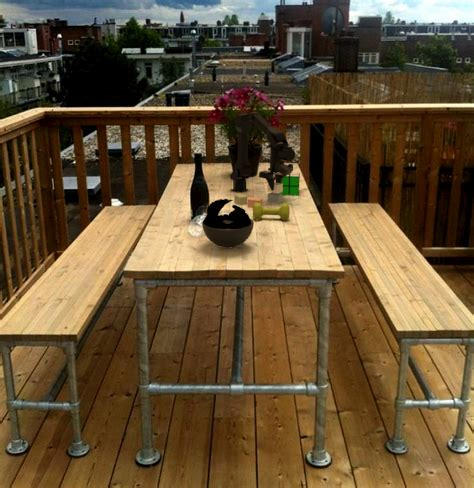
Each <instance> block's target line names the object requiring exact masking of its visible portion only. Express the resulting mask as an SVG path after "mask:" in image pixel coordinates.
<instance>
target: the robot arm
mask: <svg viewBox="0 0 474 488" xmlns="http://www.w3.org/2000/svg"><path fill="white" fill-rule="evenodd" d="M252 124H254V125H255V126H256V127H257V128H258V129H259V130H260V131H261V132H262V133H263V134H264V135H265V139H266V140H267V142H268V143H269V144H268V145H267V146H266V147H267V149H269V152H270V153H269V159H268V160H267V162H268V163H269V167H268V168H267V170H262V171H259V172H258V177H259V179H260V178H261V179H265V180H266V182H267V185H268V184H269V186H270V188H271V190H272V191H273V190H274V182H276V183H281V182H282V179H283V178H284V177H285V176H287V175H290V173H292V172H294V165H293V164H292V163H288V164H285V161H286V162H293V161H295V160H294V159H295V157H296V152H295V150H294V149H293V146H290V145H289V142H288V140H287V138H286V136H285V133H284V132H283V131H281V130H280V129H279V128H275V127H273V125H271V124H270V123H269V122H268V121H267V120H266V119H265V118H264V117H263V116H262V115H260V113H259V112H258V111H253V112H249V113H241V114H237V115H236V116H235V117H234V128H235V129H236V131H237V160H236V162H235V163H234V167H233V170H232V172H231V173H230V174H229V177H230V180H232V184H233V185H232V188H231V189H230V190H231V191H233V192H237V193H242V192H243V193H244V192H246V191H247V192H248V191H249V189H248V188H247V179H249V178H250V175H251V172H252V164H251V163H250V162H249V160H248V150H249V149H248V148H249V145H248V143H249V141H248V139H249V131H250V130H251V128H252Z"/></svg>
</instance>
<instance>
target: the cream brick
mask: <svg viewBox="0 0 474 488" xmlns="http://www.w3.org/2000/svg"><path fill="white" fill-rule="evenodd" d="M267 192H269V193H271V192H273V193H281V192H283V184H281V183H276V182H274V190H273V191H272V190H271V188H270V186H269V184H268V183H267Z"/></svg>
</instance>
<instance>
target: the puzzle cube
mask: <svg viewBox="0 0 474 488" xmlns="http://www.w3.org/2000/svg"><path fill="white" fill-rule="evenodd" d="M300 177H301V176H300V172H299V171H296V172H295V171H292V173H290V175H287V176H285V177H284V178H283V179H282V182H281V184H283V192H281V193H280V194H282V196H295V195H296V196H297V195H298V196H300V180H301V179H300Z"/></svg>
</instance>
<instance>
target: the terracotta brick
mask: <svg viewBox="0 0 474 488" xmlns="http://www.w3.org/2000/svg"><path fill="white" fill-rule="evenodd" d="M254 203H260V204H261V206H262V207H263V198H261V197H248V198H247V208H251V209H253V205H254Z"/></svg>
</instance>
